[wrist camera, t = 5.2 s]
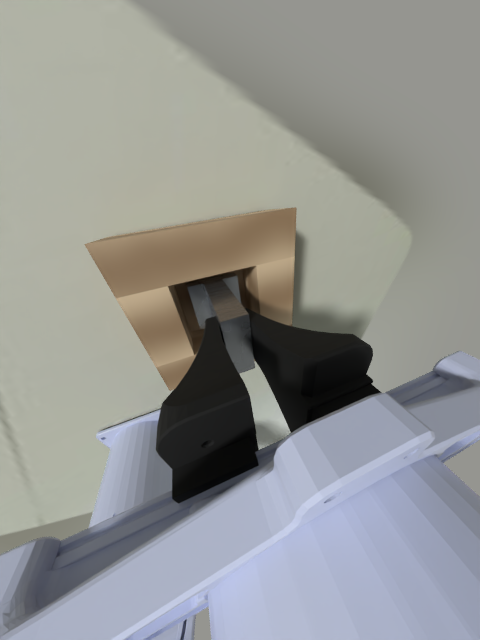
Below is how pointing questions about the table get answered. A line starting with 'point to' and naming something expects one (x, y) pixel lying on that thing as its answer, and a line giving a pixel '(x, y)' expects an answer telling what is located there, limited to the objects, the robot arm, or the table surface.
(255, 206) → the table surface
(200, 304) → the grey block
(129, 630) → the robot arm
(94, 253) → the well block
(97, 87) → the table surface
